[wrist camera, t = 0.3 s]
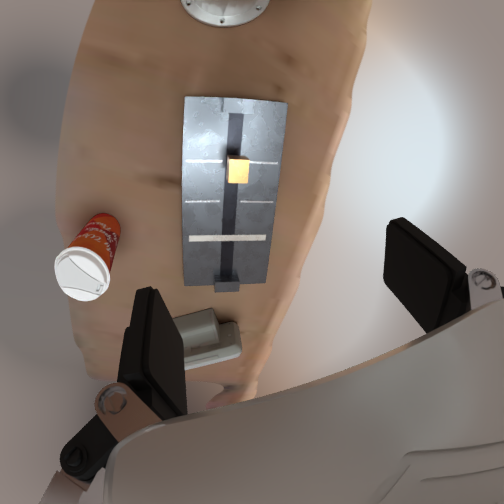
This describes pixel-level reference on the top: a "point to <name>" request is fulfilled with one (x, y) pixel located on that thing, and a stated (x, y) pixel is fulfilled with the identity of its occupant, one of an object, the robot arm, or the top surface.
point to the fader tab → (237, 169)
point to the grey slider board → (229, 189)
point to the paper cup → (89, 259)
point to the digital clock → (207, 339)
